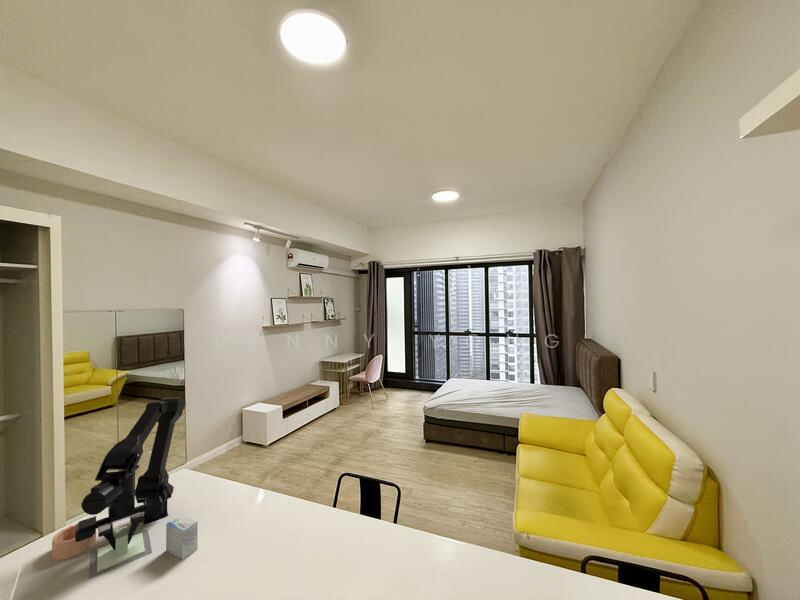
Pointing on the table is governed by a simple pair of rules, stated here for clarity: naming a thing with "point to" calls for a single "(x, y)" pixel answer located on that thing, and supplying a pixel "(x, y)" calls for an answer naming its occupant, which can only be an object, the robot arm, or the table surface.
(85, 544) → the bowl
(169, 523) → the medicine box
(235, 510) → the table surface
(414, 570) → the table surface
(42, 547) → the table surface
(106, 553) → the mint green lid
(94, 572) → the mat
